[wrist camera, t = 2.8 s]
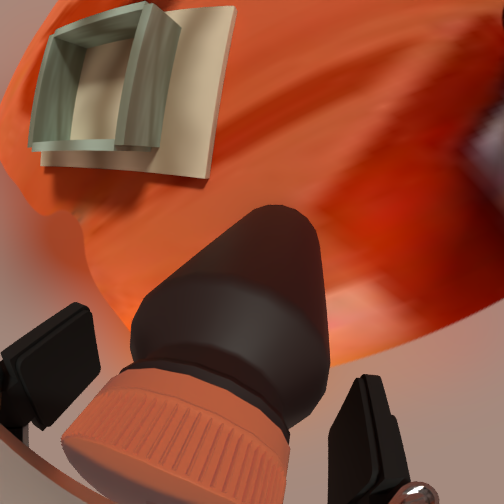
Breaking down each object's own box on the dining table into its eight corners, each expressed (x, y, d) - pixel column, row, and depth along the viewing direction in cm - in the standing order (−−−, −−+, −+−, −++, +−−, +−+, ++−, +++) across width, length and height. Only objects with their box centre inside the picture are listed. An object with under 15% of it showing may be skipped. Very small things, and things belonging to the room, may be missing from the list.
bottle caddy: (237, 11, 17) (216, -26, 12) (209, 178, 22) (176, 183, 16) (68, 40, 20) (31, 29, 14) (46, 165, 25) (6, 170, 19)
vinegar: (313, 197, 21) (333, 428, 2) (323, 282, 23) (325, 556, 4) (226, 210, 23) (-14, 362, 4) (242, 290, 24) (114, 516, 5)
